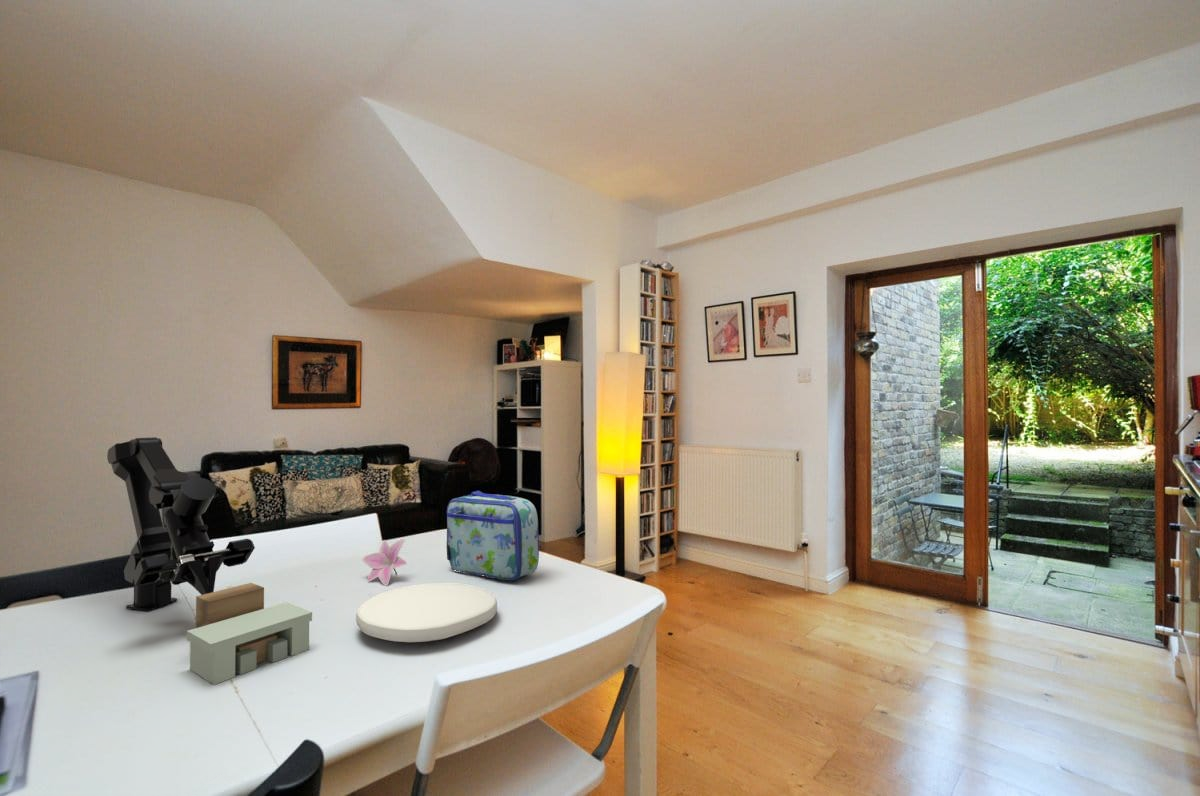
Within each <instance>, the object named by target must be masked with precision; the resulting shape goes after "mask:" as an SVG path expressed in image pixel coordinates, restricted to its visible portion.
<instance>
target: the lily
mask: <svg viewBox="0 0 1200 796" xmlns="http://www.w3.org/2000/svg"><path fill="white" fill-rule="evenodd" d="M405 540H406V539H405V538H402V539H399V540H397V541H395V542H394V543H393V544H391V545H389V544H388V542H387V541H386V540H385V539H383V541H382V543H381V545H380V547H379V551H378V552H373V553H370V554H368V555H365V556H363V557H362V558H361V560H362V563H364V564H365V565H367V566H368V567H369V568H371V569H372V570H371V571H370V573H369V574H368V577H367V578H366V579H367V580H366V583H370V582H371V581H373V580H374V579H376V578H378V579H379V580H380V582H381V584H382V585H383V586H384V585H387V586H388V585H389V583H390V579H391V576H392V573H393V571H394V573H395V575H396V574H397V575H398V573H397V571H396V569H398V568H400V567H403V566H406V565H407V564H408V563H407V561H406V560H404V559H403V558H402V557H400V556H399V554H400V551H401V549H402V548H403V545H404V543H405Z"/></svg>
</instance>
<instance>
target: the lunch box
mask: <svg viewBox="0 0 1200 796" xmlns="http://www.w3.org/2000/svg"><path fill="white" fill-rule="evenodd" d="M539 533H540V532H539V519H538V512H537V509H536V507H535V505H534V504H533V502H531V501H530V500H529V499H526V498H523V497H519V496H512V495H503V494H491V493H484V492H482V491H480V490H476V491H472V492H471V494H468V495H463V496H460V497H455V498H452V499H451V500H450V501H449V502H448V505H447V508H446V557H447V558H446V560H447V561H448V562H449V566H450V568H451V569H452V571H453V570H456V571H460V572H465V573H464V574H468V573H469V575H474V574H475V576H479V575H484V576H488V577H487V578H489V577H493V578H492V579H495V578H498V579H497V580H501V581H508V582H509V581H510V582H515V581H516V580H518V579H519V578H521V577H525V576H527V575H530V574H533V573H534V572H536V570H537V569H538V566H539V560H540V559H539V557H540V555H539V554H540V546H539V545H540V543H539V541H540V536H539ZM484 576H483V577H484Z"/></svg>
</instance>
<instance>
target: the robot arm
mask: <svg viewBox="0 0 1200 796" xmlns="http://www.w3.org/2000/svg"><path fill="white" fill-rule="evenodd" d="M107 463H108V464H111V469H112V472H113V474H114V475H115V476H117V477H118V478H119V479H121V480H122V481H124V483H125V487H126V491H127V495H128V501H129V505H130V510H131V515H132V519H133V523H134V527H135V531H136V532H135V533H136V536H137V538H136V542H135V543H134V545H133V546H132V549H131V551H130V556H129V558H128V560H127V562H126V564H125V567H124V569H123V574H124V580H125V581H127V582H128V583H130V584H133V603H131V604H127V605H126V606H125V608H126V609H128V608H131V609H130V610H136V609H138V610H139V611H146V612H147V611H152V610H155V609H158V608H161V607H164V606H166V605H168V604H172V603H175V602H177V601H178V598H177V597H172V585H174V586H178V585H181V584H183V583H188V584H189V585H190V586H192V587H193V588H194V589H195V590H196V591H197V592H198V593H199V594H200V595H204V594H208V593H212V592H215V584H216V578H217V577H216V576H217V572H218V570H219V569H220V568H221V566H222V564H223V565H224V566H226V567H235V566H240V565H244V564H245V563H247V562H248V560H249V559H250V556H252V553H253V551H254V550H255V549H256V547H255V544H254V542H253V540H252V539H250V538H243V539H237V540H231V541H228V544H227V545H226V547H225V548H224V549H221V550H214V549H213V548H214V546H215V542H214V541H213V540H211V541H210V538H209V536H208V533H207V532H208V530H209V526H208V524H204V521H203V519H202V515H203V514H204V513H206V511H207V509H208V508H209V506H210V504H211V501H212V500H213V498H214V497H215V494H216V493H217V486H216V484H214V483H213V482H212V481H211V480H209V479H207V478H203V477H201V474H200V473H191V474H189V473H186V472H184V471H183V472H182V471H179V470H178V469H177V468H176V466H175V465H174V463H173V462H172V460H171V459H170V457H169V456H168V453H167V452H166V451H165V449H164V447H163V442H162V439H161V438H160V437H159V438H158V437H136V438H135V439H133V438H132V439H130V440H129V441H125V442H119V443H115V444H114V445H112V446H111V447H110V448H108V450H107ZM163 509H167V510H166V512H165V513H164V515H163V519H164V521H162V516H161V511H160V510H163ZM165 528H166V529H165Z"/></svg>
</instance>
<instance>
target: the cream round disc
mask: <svg viewBox="0 0 1200 796" xmlns="http://www.w3.org/2000/svg"><path fill="white" fill-rule="evenodd" d="M497 610H498V601H497V598H496V596H495V595H494V594H493V592H490V591H489V590H487V589H485V588H482V587H481V586H477V585H474V584H467V583H461V582H430V583H421V584H420V583H419V584H414V585H408V586H402V587H398V588H394V589H390V590H387V591H385V592H382V593H379V594H376V595H374V596H373V597H370V598H369V599H367V600H366V601H364V602H363V603H362V604H361V605H360V606H359V607H358V609H357V610H356V615H355V617H356V618H355V620H356V621H355V622H356V625H357V627H358V628H359V630H360V631H361V632H362V633H364V634H366V635H367V636H369V637H373V638H378V639H380V640H384V641H391V642H399V643H423V642H425V643H426V642H432V641H439V640H440V641H441V640H445V639H449V638H450V637H455V636H458V635H461V634H464V633H466V632H469V631H471V630H473V629H476V628H478V627H480V626H481V625H484V624H486V623H488V622H489V621H491V619H493V618H494V616H495V614H496V613H497Z"/></svg>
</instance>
